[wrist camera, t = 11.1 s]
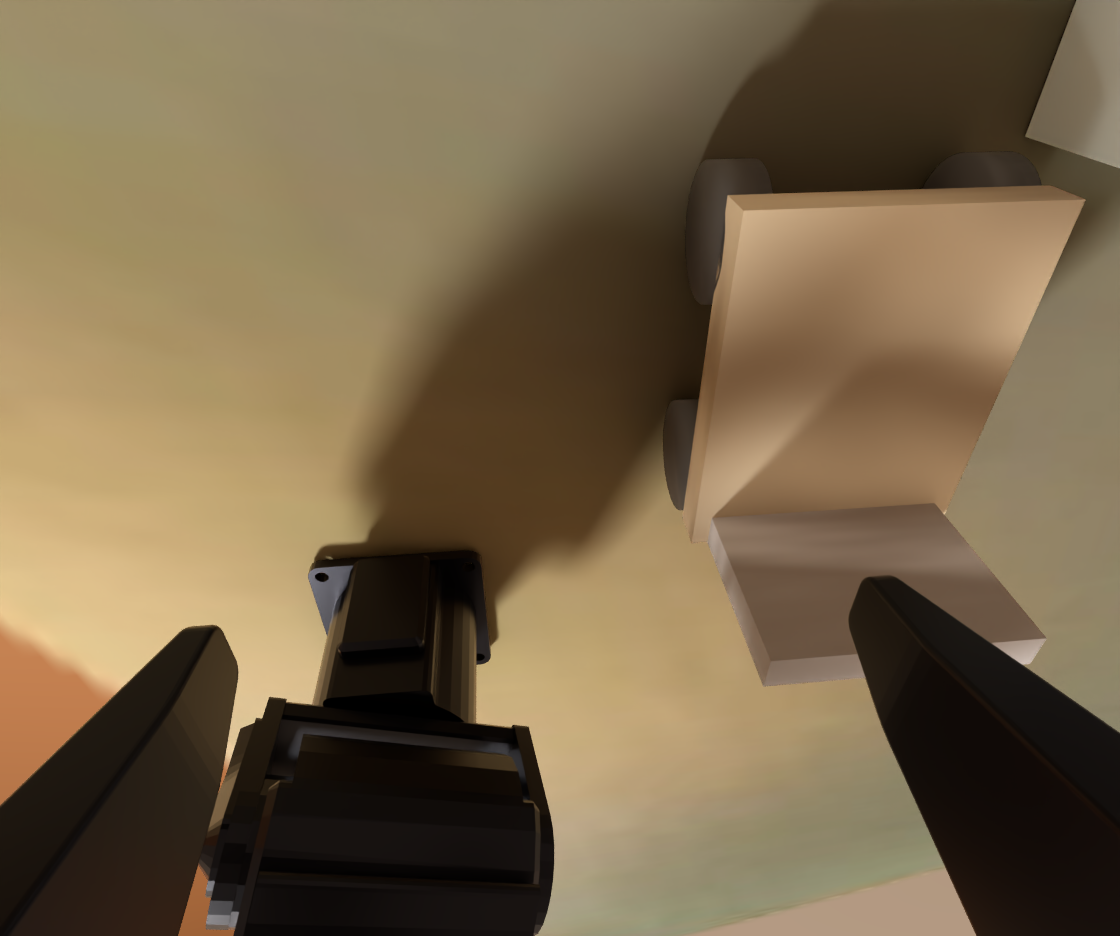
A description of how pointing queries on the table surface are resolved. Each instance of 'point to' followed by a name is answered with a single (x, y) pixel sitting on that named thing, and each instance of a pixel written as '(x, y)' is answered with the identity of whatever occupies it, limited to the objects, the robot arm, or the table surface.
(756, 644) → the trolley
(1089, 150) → the tray
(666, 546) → the table surface
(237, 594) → the table surface
